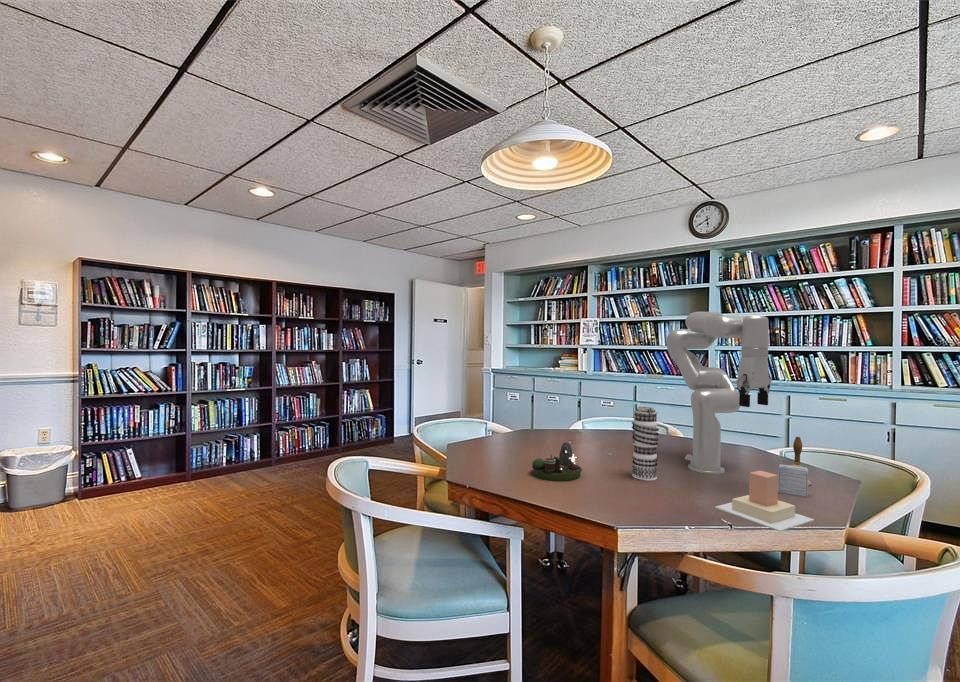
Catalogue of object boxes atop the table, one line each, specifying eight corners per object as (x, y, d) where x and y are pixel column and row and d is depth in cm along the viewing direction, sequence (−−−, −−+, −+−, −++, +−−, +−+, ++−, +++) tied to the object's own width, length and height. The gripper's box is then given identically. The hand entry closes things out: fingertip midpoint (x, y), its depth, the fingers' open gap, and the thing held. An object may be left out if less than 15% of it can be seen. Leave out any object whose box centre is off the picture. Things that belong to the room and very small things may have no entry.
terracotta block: (749, 500, 127) (749, 472, 127) (759, 497, 130) (760, 470, 130) (767, 506, 123) (767, 477, 123) (777, 503, 125) (778, 475, 125)
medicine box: (807, 494, 145) (807, 467, 145) (808, 498, 141) (808, 470, 141) (778, 489, 149) (778, 463, 149) (778, 493, 146) (778, 466, 146)
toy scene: (591, 474, 164) (591, 445, 164) (562, 485, 151) (563, 454, 151) (551, 464, 177) (551, 437, 177) (522, 473, 164) (522, 445, 164)
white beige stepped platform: (715, 509, 131) (715, 496, 131) (748, 501, 138) (749, 488, 138) (780, 534, 115) (780, 518, 115) (814, 523, 122) (814, 508, 122)
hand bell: (783, 477, 163) (784, 433, 163) (812, 482, 158) (813, 436, 157) (781, 482, 156) (782, 437, 156) (810, 487, 151) (811, 440, 151)
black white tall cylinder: (626, 473, 166) (627, 405, 165) (651, 472, 166) (652, 405, 166) (637, 481, 156) (638, 409, 156) (662, 480, 157) (663, 409, 157)
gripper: (758, 353, 154) (758, 402, 154) (726, 353, 146) (726, 405, 146) (781, 353, 147) (781, 405, 147) (749, 354, 139) (748, 409, 139)
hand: (753, 405), depth 147 cm, fingers open, 9 cm apart
